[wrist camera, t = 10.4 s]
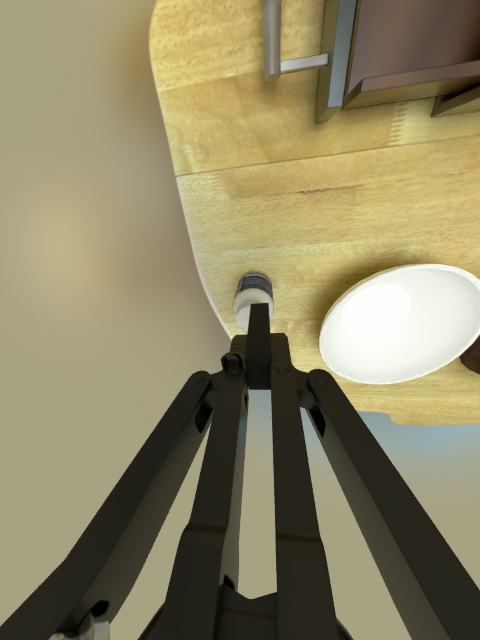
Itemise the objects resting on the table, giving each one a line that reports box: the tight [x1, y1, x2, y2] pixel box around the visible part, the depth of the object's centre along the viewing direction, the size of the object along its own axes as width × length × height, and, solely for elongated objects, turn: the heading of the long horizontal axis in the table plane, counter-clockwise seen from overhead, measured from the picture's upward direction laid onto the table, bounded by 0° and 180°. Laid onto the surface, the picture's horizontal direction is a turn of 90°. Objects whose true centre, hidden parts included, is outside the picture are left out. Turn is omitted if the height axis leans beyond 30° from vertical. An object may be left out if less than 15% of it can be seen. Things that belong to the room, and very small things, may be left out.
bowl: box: [319, 263, 480, 384], centre depth 30 cm, size 20×20×7 cm
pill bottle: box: [233, 271, 273, 332], centre depth 28 cm, size 5×5×10 cm
